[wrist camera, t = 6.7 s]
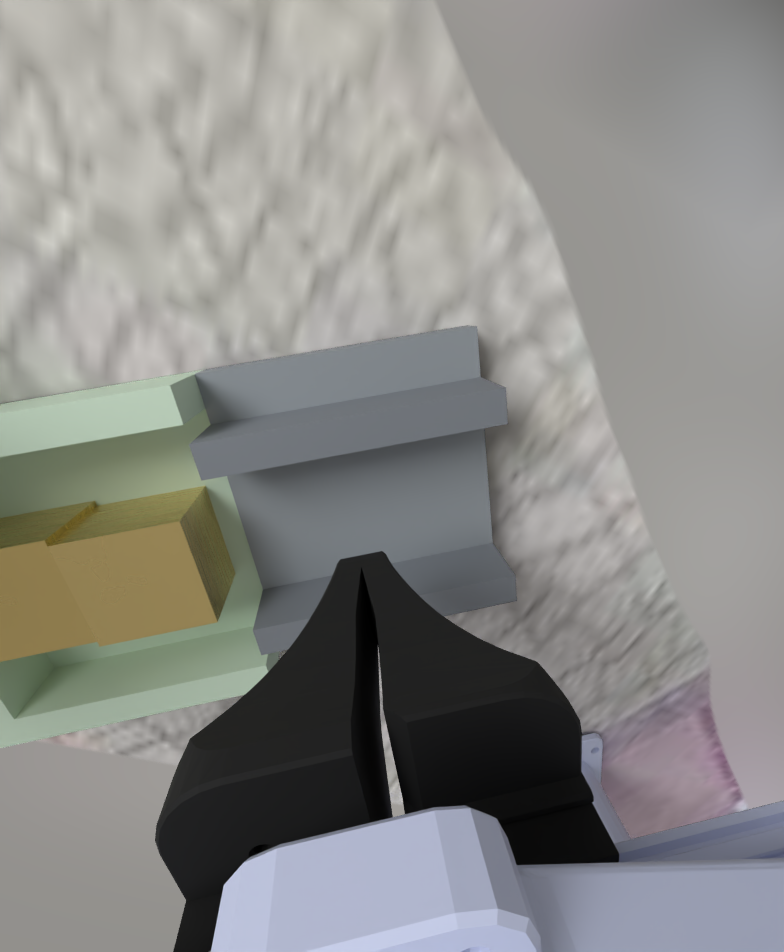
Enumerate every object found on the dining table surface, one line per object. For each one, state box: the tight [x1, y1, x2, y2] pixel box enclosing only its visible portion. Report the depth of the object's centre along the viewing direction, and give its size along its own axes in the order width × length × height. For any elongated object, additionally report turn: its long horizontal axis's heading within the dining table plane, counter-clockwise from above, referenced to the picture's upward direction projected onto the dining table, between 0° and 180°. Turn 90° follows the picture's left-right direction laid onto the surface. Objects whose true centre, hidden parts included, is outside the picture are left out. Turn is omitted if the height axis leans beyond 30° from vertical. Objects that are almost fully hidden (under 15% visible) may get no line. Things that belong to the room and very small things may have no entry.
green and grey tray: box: [0, 326, 517, 748], centre depth 16 cm, size 12×20×4 cm, turn 99°
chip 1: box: [0, 501, 97, 662], centre depth 15 cm, size 4×4×3 cm
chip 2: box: [47, 486, 236, 647], centre depth 15 cm, size 4×4×3 cm
